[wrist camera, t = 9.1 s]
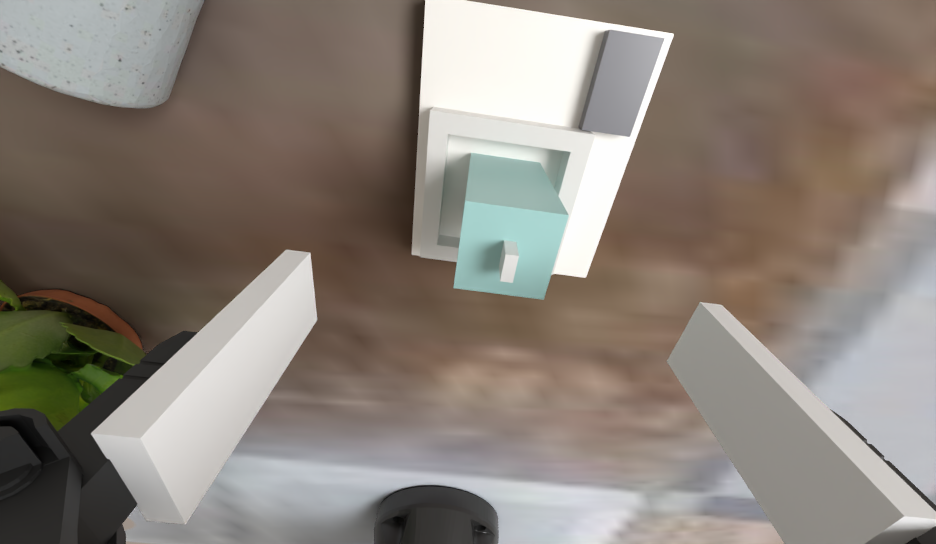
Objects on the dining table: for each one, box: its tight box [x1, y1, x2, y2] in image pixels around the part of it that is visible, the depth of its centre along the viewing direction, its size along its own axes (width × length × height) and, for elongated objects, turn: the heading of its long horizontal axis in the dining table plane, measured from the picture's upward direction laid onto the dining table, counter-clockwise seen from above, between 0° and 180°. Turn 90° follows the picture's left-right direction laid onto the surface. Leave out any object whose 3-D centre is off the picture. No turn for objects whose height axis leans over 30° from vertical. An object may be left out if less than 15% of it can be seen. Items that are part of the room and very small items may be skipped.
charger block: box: [454, 153, 569, 300], centre depth 17 cm, size 4×4×9 cm
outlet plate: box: [411, 0, 674, 278], centre depth 20 cm, size 14×12×3 cm
